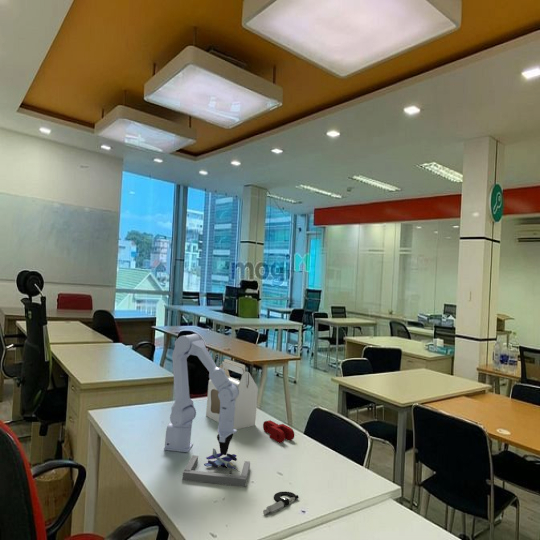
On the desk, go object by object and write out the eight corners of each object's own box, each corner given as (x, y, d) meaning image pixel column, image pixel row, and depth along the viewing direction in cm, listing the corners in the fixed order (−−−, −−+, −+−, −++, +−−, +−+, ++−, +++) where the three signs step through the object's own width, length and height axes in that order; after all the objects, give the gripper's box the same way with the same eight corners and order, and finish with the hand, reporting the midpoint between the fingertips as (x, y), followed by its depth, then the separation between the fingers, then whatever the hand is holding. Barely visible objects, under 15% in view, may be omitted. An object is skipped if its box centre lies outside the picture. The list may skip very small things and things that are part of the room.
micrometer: (284, 491, 131) (285, 483, 131) (300, 501, 126) (301, 493, 126) (250, 506, 121) (251, 498, 121) (266, 518, 116) (267, 509, 116)
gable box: (205, 415, 194) (210, 358, 195) (227, 411, 203) (231, 356, 204) (233, 431, 178) (238, 367, 179) (255, 425, 187) (260, 365, 188)
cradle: (182, 479, 132) (182, 472, 132) (192, 462, 145) (192, 455, 145) (245, 487, 131) (245, 479, 131) (249, 468, 144) (250, 461, 144)
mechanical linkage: (293, 441, 172) (294, 429, 172) (281, 444, 168) (282, 432, 168) (270, 428, 185) (271, 418, 185) (258, 431, 180) (259, 420, 180)
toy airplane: (240, 480, 135) (241, 469, 135) (200, 476, 136) (201, 465, 136) (245, 462, 148) (246, 453, 148) (208, 459, 149) (209, 449, 149)
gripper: (234, 425, 142) (231, 464, 142) (239, 412, 157) (236, 447, 157) (214, 423, 143) (211, 461, 143) (222, 410, 157) (219, 445, 157)
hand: (223, 454), depth 150 cm, fingers closed
